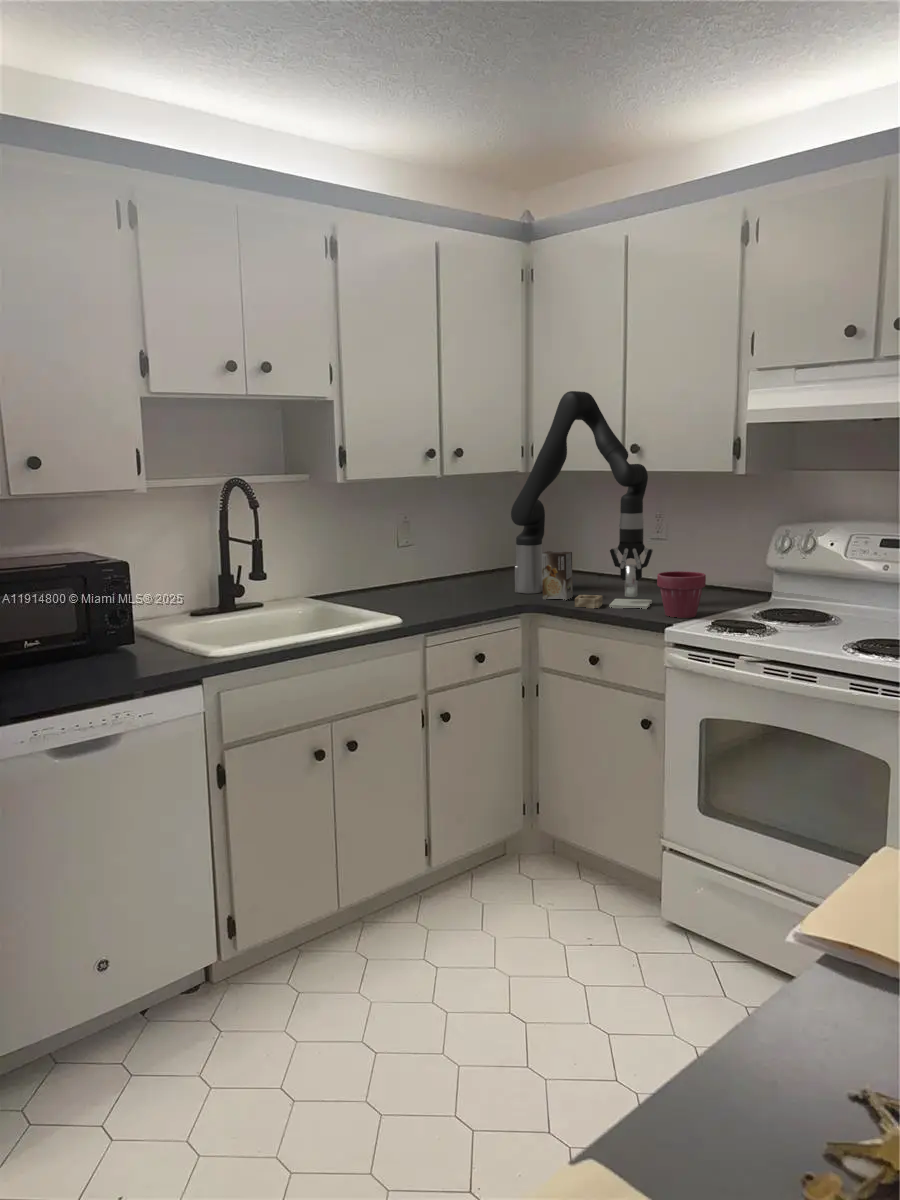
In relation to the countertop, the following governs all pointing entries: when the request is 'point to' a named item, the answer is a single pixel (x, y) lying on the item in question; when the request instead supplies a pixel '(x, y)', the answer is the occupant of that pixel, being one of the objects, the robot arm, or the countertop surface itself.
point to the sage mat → (630, 603)
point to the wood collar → (588, 601)
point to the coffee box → (557, 575)
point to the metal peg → (631, 580)
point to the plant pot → (681, 592)
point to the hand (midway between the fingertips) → (631, 579)
